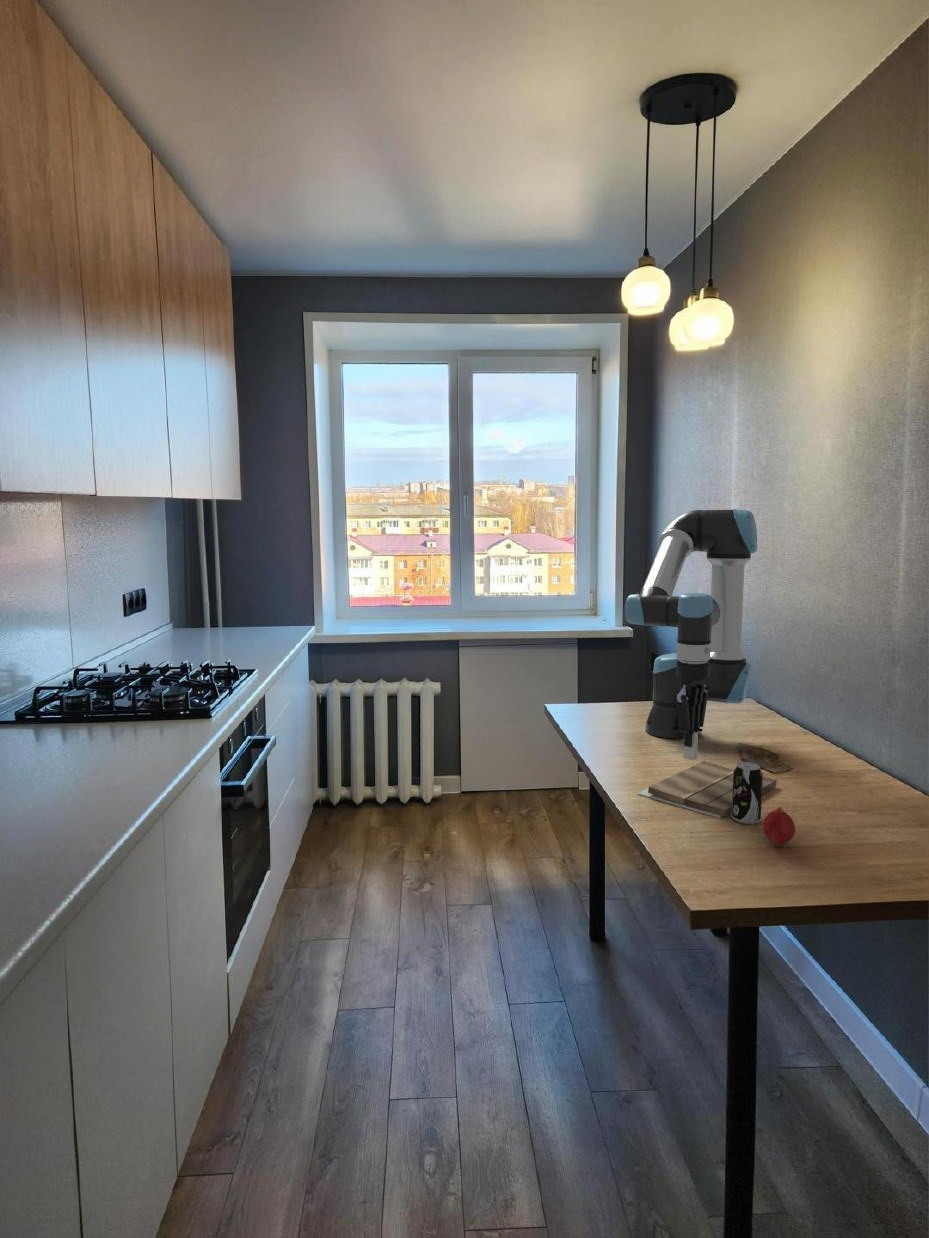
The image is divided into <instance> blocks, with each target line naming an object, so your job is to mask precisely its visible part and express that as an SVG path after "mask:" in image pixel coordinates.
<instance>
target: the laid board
mask: <svg viewBox="0 0 929 1238" xmlns="http://www.w3.org/2000/svg"><path fill="white" fill-rule="evenodd" d="M777 782H778V781H777V779H773V778H770V777H766V776H763V783H762V795H764V794H766V793H768V792H769V791H771V790H773V789H774V788H776V787H777ZM732 795H733V775H731V776H729V777H728V778H726V779H724V780H722V781H720V782H718V783H716V784H714V785H712V786H710V787H708V788H706V789H705V790H703V791H701V792H699V793H697V794H695V795H693V796H691V797H689V798H687V799H686V806H688V807H692V808H695V809H699V810H702V811H706V812H709V813H713V814H716V815H720V816H722V818H723V817H724V818H725V817H728V816H729V815H730V814H732Z"/></svg>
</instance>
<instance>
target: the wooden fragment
mask: <svg viewBox="0 0 929 1238" xmlns="http://www.w3.org/2000/svg"><path fill="white" fill-rule="evenodd" d="M738 748H739V749H738V750H739V757H740V760H742V761H744V762H751V763H756V764H758V765H760V768H762V769H765V770H766V771H771V772H772V773H773V774H774V775H775V774H783V773H786V772H789V771H791V770H793V768H794V767H792V766H789V764H786V763H784V761H783V760H779V758H780V757H781V756H780V755H779V754H777V753H775V752H772V751H771V749H766V748H765V747H762V746H756V745H751V744H747V743H742V742H739V743H738Z"/></svg>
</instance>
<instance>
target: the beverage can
mask: <svg viewBox="0 0 929 1238" xmlns="http://www.w3.org/2000/svg"><path fill="white" fill-rule="evenodd" d="M733 770H734V773H733V795H732V813H731V817H732V818H733V819H734V820H735V821H736V822H738V823H740V824H743V825H754V824H756V823H758V822H761V819H762V818H761V817H762V801H763V800H762V799H763V794H762V783H763V777H764V774H763V773H764V772H762V770H761V767H760V765H758V764H756V763H751V762H748V761H742V762H741V761H740V762H737V763H736V767H735V768H734V769H733Z"/></svg>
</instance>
